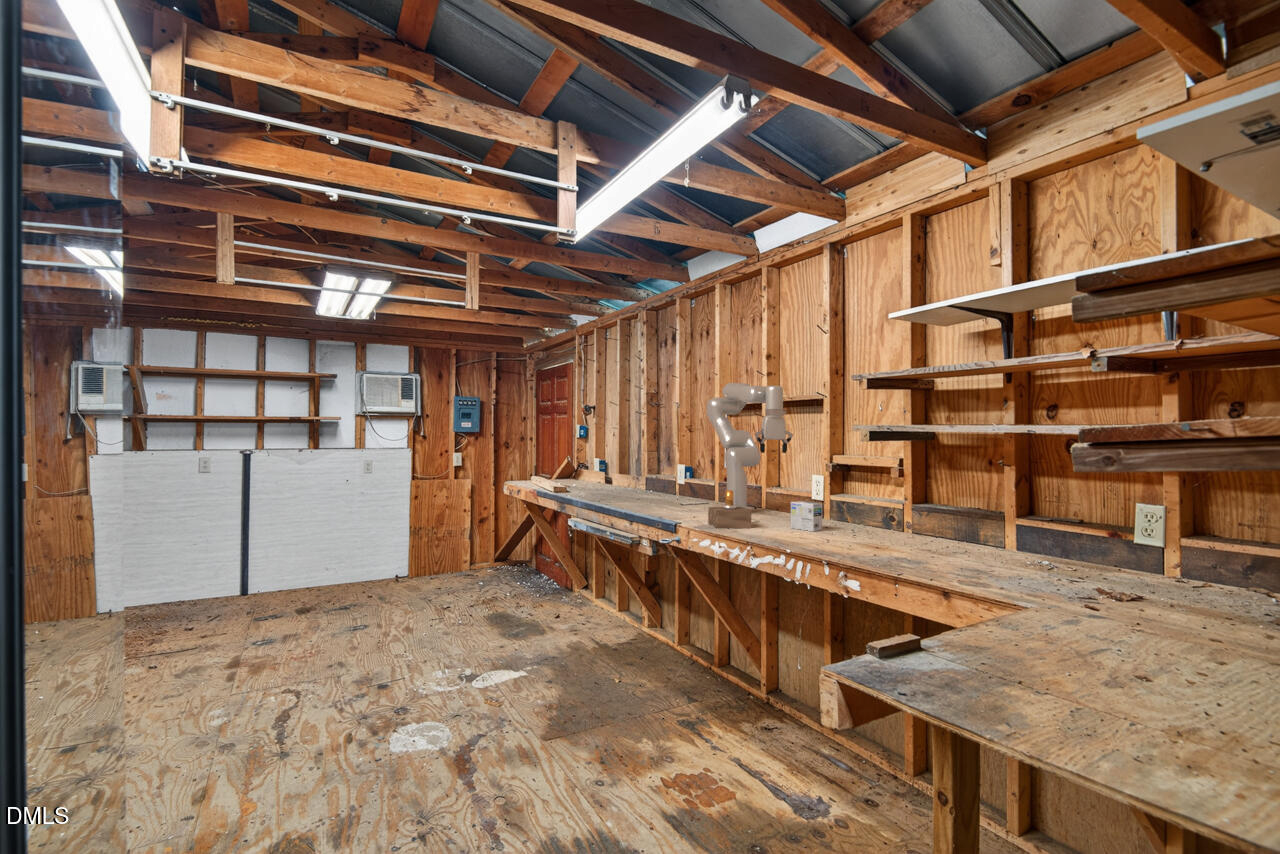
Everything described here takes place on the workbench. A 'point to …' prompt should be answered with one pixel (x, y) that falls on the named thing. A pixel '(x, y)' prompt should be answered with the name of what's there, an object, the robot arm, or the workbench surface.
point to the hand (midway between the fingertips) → (773, 452)
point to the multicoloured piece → (729, 501)
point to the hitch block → (729, 517)
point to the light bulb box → (806, 516)
